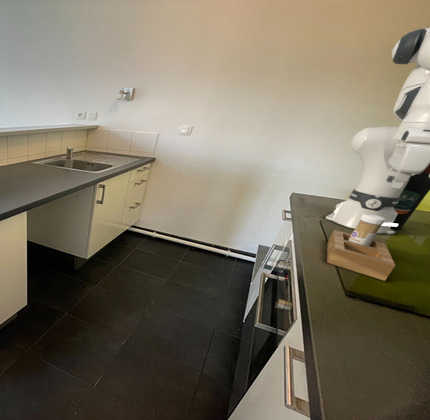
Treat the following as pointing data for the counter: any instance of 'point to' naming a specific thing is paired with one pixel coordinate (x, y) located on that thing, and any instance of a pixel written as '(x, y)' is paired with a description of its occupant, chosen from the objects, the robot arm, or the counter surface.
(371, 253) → the hole block
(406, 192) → the wine bottle
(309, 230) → the counter surface
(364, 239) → the sprinkles bottle
